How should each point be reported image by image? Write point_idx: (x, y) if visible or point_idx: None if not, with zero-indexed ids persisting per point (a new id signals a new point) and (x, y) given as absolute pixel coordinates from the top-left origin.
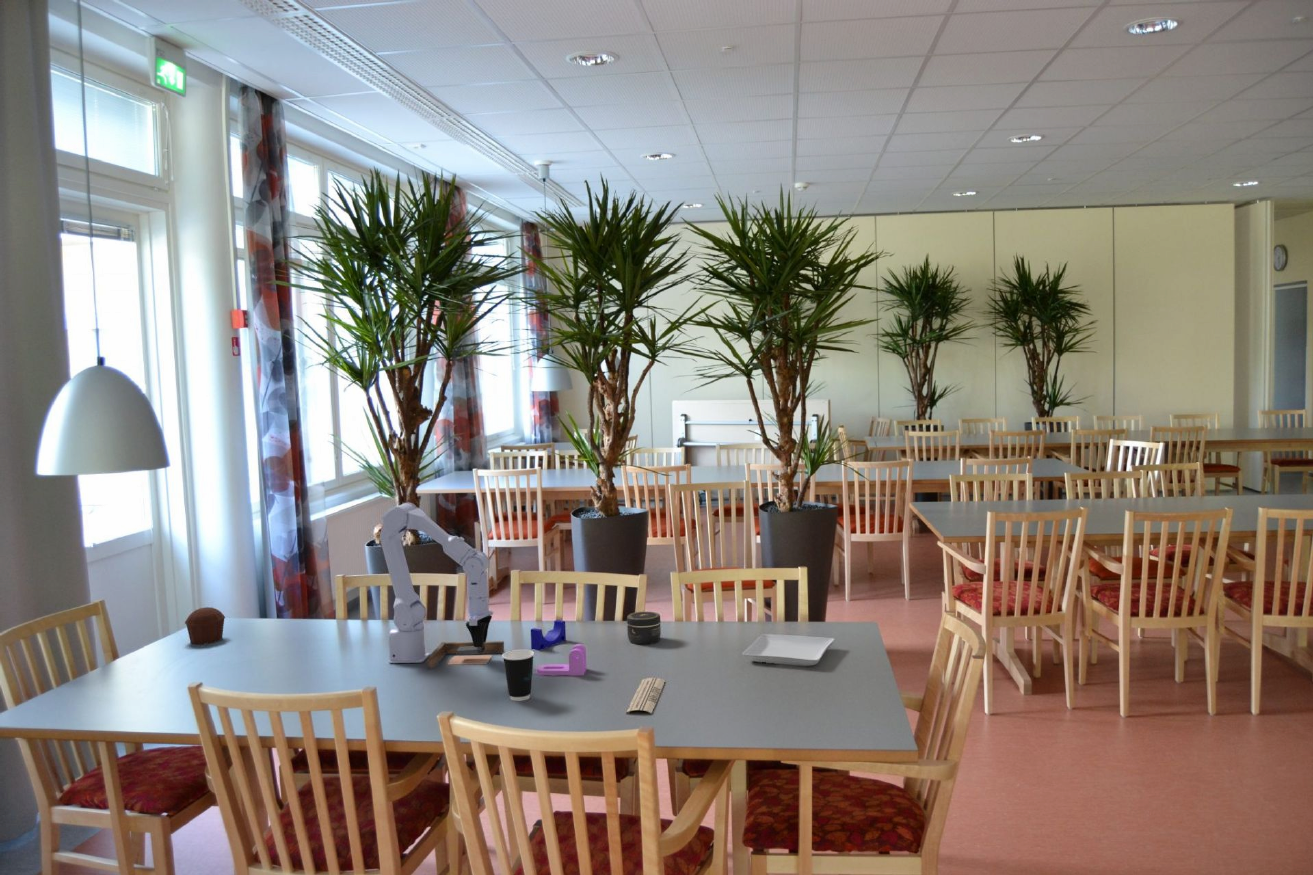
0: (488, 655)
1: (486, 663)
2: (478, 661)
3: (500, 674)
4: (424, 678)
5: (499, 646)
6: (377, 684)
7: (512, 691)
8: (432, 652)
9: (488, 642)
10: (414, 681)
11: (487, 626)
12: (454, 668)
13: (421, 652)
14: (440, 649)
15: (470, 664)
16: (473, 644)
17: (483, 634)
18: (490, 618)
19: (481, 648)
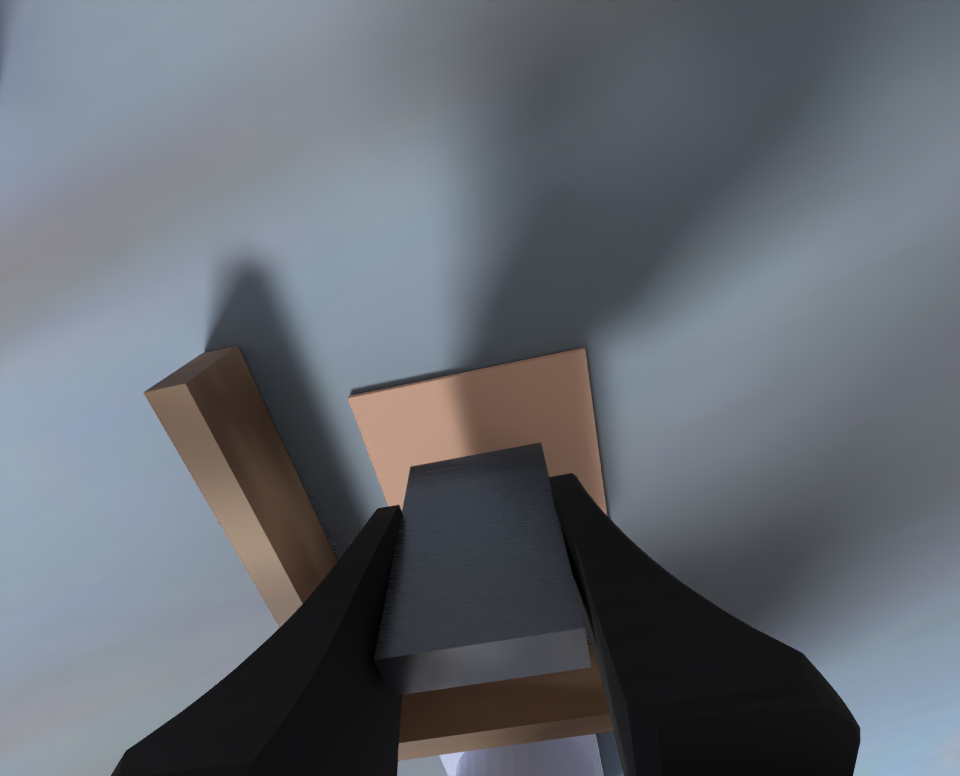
0: (365, 424)
1: (583, 349)
2: (533, 432)
3: (912, 67)
4: (892, 593)
5: (225, 397)
6: (948, 730)
7: None
8: (595, 732)
9: (245, 508)
10: (942, 615)
11: (335, 641)
12: (692, 520)
13: (551, 773)
14: (496, 720)
15: (597, 460)
16: (309, 595)
17: (601, 556)
18: (254, 766)
19: (535, 472)
